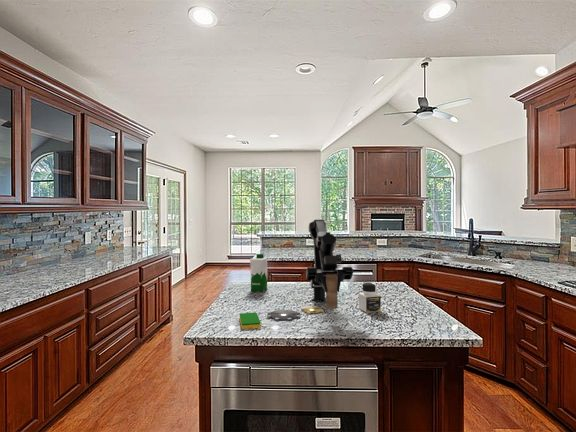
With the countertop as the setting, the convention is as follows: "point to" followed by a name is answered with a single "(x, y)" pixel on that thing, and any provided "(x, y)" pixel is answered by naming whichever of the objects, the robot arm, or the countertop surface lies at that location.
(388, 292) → the countertop surface
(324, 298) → the robot arm
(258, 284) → the milk carton
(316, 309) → the brass gear disc
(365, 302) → the medicine bottle
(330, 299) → the walnut axle
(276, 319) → the steel gear disc
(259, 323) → the dish sponge
